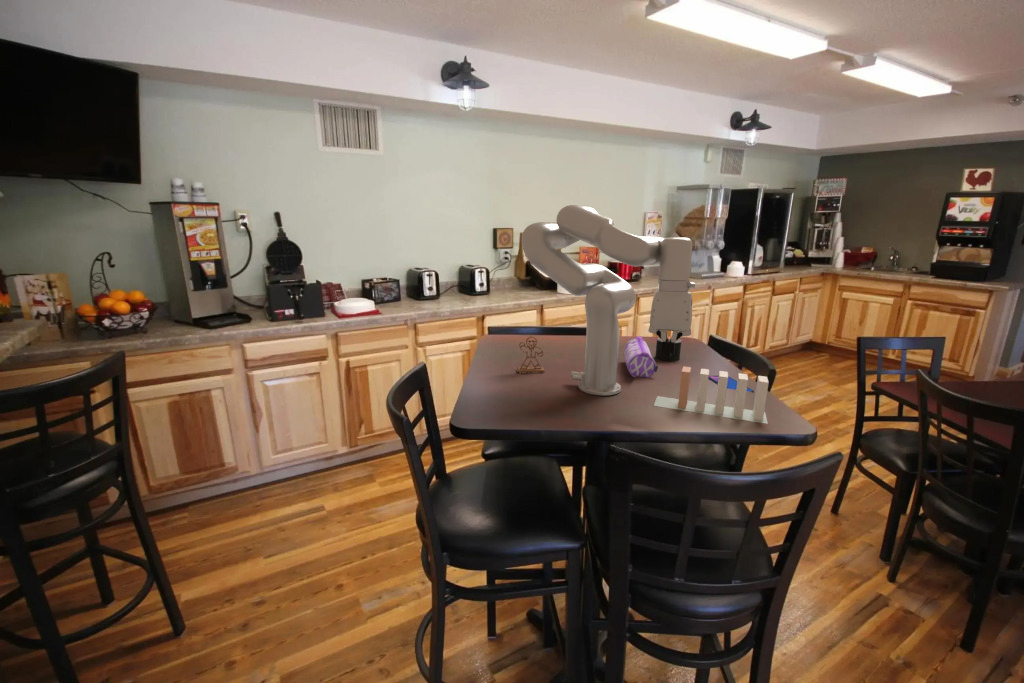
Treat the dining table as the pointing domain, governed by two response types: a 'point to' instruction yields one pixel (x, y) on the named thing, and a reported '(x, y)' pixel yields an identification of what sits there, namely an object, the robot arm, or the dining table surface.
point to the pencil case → (639, 358)
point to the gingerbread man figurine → (535, 368)
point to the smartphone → (730, 384)
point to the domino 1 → (684, 387)
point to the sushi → (673, 356)
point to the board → (706, 409)
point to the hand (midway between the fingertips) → (667, 355)
